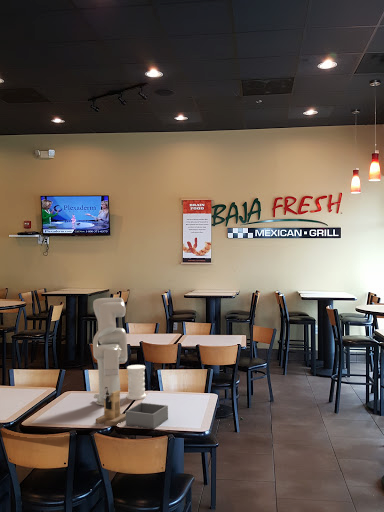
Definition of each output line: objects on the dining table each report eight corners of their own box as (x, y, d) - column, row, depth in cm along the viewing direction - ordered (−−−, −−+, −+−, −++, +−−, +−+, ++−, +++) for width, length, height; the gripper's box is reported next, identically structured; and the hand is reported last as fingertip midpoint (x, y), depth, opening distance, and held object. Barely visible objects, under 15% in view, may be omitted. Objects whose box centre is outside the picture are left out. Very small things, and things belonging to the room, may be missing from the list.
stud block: (95, 423, 247) (95, 404, 247) (108, 415, 258) (108, 398, 258) (116, 425, 242) (115, 406, 242) (128, 418, 253) (128, 400, 253)
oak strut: (104, 417, 248) (103, 392, 248) (110, 414, 253) (110, 389, 254) (114, 419, 246) (113, 393, 246) (120, 415, 251) (119, 390, 251)
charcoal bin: (125, 425, 242) (125, 411, 242) (141, 415, 256) (141, 402, 256) (153, 429, 236) (153, 414, 236) (168, 419, 250) (167, 405, 250)
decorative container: (122, 398, 290) (122, 367, 290) (134, 393, 300) (133, 364, 300) (139, 400, 284) (138, 369, 284) (150, 395, 295) (149, 365, 295)
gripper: (114, 367, 259) (115, 401, 259) (95, 375, 243) (96, 411, 243) (126, 368, 256) (127, 403, 256) (108, 376, 240) (109, 413, 240)
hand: (112, 406), depth 250 cm, fingers closed on oak strut, 5 cm apart
